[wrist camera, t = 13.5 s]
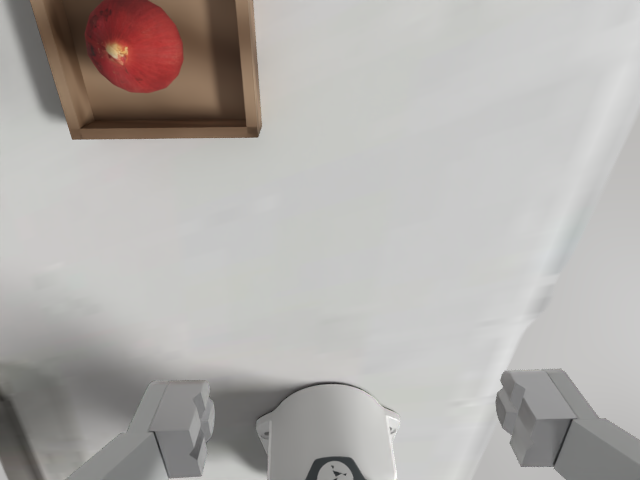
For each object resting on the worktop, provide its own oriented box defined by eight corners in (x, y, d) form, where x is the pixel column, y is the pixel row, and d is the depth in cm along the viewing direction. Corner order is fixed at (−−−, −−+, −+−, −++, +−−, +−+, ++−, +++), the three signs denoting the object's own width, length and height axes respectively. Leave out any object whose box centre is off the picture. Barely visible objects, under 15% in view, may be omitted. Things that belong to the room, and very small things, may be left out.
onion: (118, 79, 31) (66, 100, 24) (107, -8, 28) (44, -14, 21) (196, 87, 32) (166, 109, 25) (192, 2, 29) (157, -1, 22)
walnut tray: (261, 126, 34) (257, 137, 31) (92, 127, 34) (72, 139, 31) (248, -66, 28) (241, -75, 25) (39, -67, 27) (6, -77, 24)
